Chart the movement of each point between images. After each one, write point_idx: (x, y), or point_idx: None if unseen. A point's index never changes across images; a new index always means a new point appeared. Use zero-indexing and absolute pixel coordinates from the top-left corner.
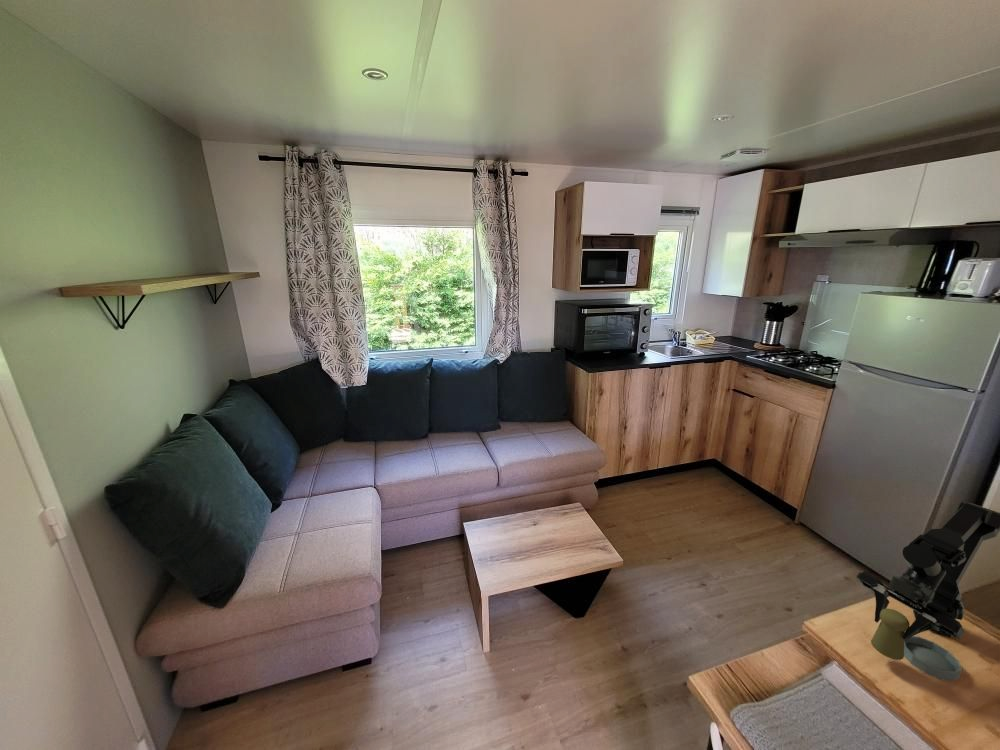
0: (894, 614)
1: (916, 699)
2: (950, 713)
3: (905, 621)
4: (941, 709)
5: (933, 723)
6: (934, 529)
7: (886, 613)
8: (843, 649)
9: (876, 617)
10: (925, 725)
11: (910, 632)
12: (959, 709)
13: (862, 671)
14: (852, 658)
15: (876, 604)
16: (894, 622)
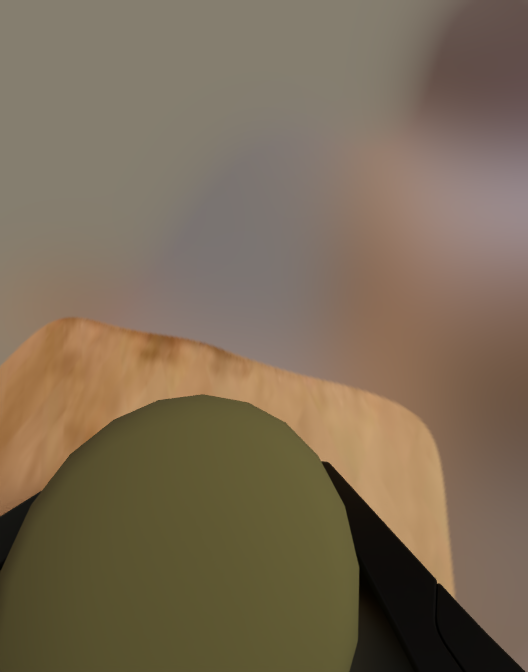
0: (182, 543)
1: (113, 409)
2: (22, 454)
3: (20, 559)
4: (47, 443)
5: (68, 356)
6: None
7: (275, 460)
8: (331, 411)
9: (334, 480)
10: (85, 329)
11: (24, 507)
12: None
13: (253, 368)
14: (295, 396)
15: (473, 625)
16: (160, 405)
